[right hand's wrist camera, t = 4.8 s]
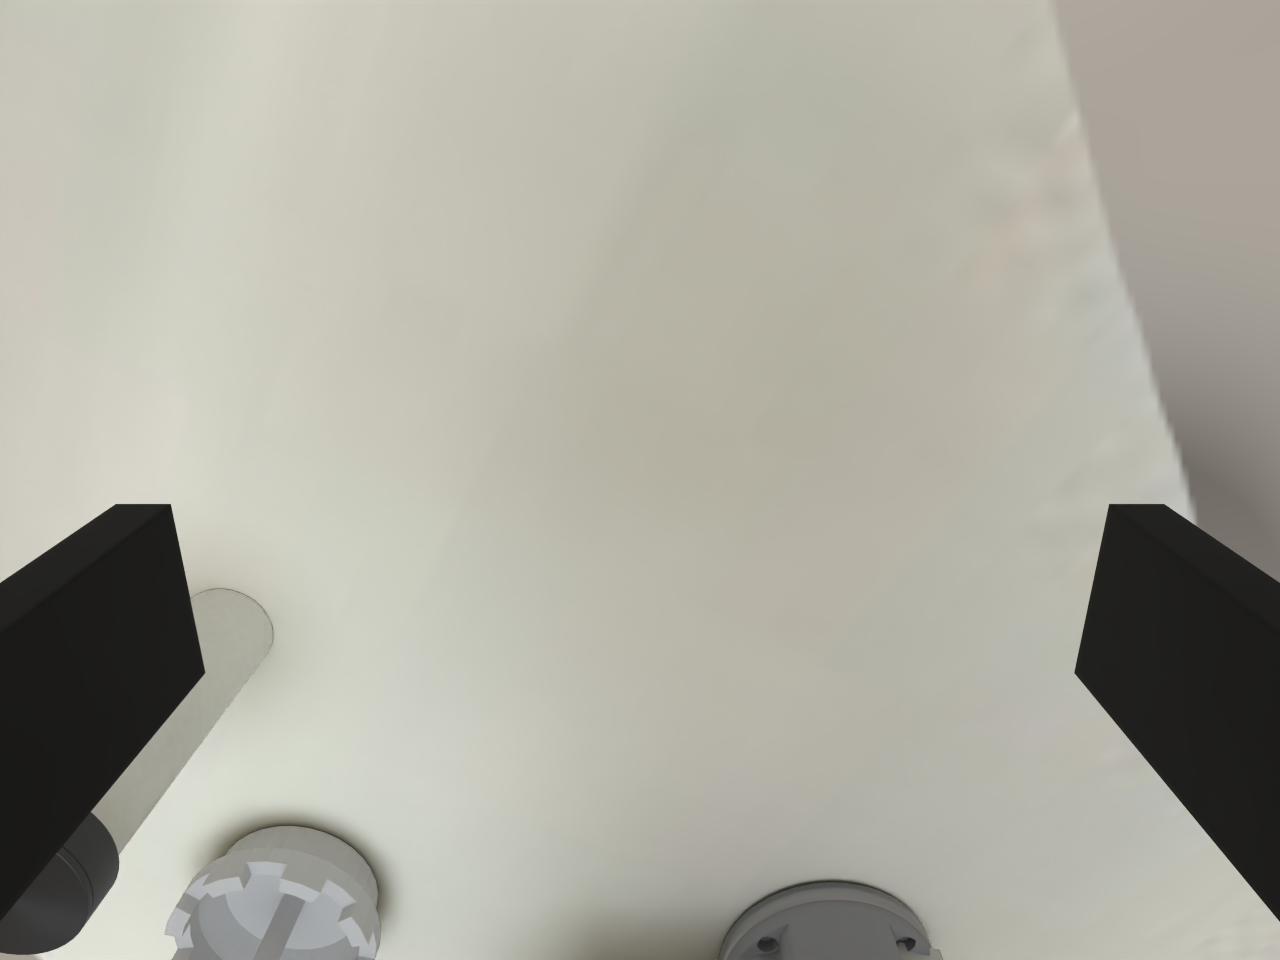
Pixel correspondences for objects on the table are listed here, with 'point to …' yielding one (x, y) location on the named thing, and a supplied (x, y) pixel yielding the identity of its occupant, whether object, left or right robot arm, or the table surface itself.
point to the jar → (191, 707)
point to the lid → (63, 893)
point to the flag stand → (280, 901)
